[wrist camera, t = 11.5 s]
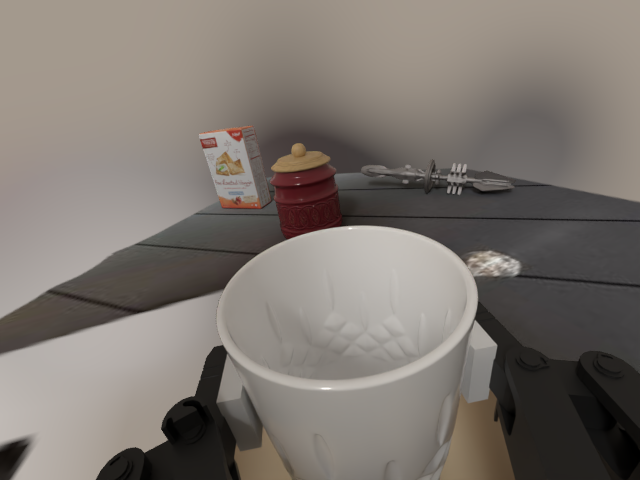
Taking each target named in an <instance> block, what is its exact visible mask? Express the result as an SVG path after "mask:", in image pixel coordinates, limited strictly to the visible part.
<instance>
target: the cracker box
mask: <svg viewBox="0 0 640 480" xmlns="http://www.w3.org/2000/svg"><path fill="white" fill-rule="evenodd" d="M199 138H200V141H201V144H202V147H203V150H204V153H205V156H206V159H207V162H208V165H209V169H210V172H211V175H212V178H213V181H214V184H215V187H216V190H217V193H218V196H219V200H220V203H221V206H222V208H254V209H261V208H263V207H264V206H265V205H267V204H268V203H270V202H271V197H270V193H269V188H268V184H267V180H266V176H265V172H264V168H263V163H262V159H261V155H260V151H259V147H258V142H257V139H256V134H255V130H254V126H246V127H238V128H227V129H222V130H215V131H208V132H204V133H201V134H199Z"/></svg>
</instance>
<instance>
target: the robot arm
mask: <svg viewBox="0 0 640 480" xmlns="http://www.w3.org/2000/svg"><path fill="white" fill-rule="evenodd" d="M490 389H491V391H492V392H493V394H494V395H495V396H496V398H497V401H496V406H495V411H494V422H497V421H498V417H499V420H500V424H501V427H502V431H503V435H504V439H505V443H506V446H507V450H508V454H509V458H510V462H511V465H512V469H513V473H514V477H515V480H640V374H639V373H638V372H637V371H636V370H635V369H634V368H633V367H631V366H630V365H629V364H627V363H626V362H625V361H623V360H622V359H620V358H617V357H615V356H613V355H611V354H607V353H604V352H600V351H589V352H585V353H583V354H582V355H581V356H580V359H579V361H565V360H553V359H548V358H547V357H546V356H545V355H543V354H542V353H541V352H538V351H536V350H534V349H532V348H527V347H523V346H522V345H521V344H520V343H519V342H518V341H517V340H516V339H515V338H514V337H513V336H512V335H511V334H510V333H509V332H508V331H507V330H506V329H505V328H504V326H503V325H502V324H501V323H500V322H499V321H498V320H497V319H495V317H494V316H493V315H492V314H491V313H490V312H488V310H487V309H486V308H485V307H484V306H483V305H482V304H481V303H480V302H478V305H477V311H476V316H475V322H474V327H473V332H472V337H471V342H470V347H469V353H468V358H467V364H466V369H465V375H464V380H463V386H462V391H461V393H462V395H463V396H464V398H465V399H466V401H467V403H472V402H476V401H481V400H486V399H488V396H489V390H490ZM161 430H162V431H163V433H164V434H165V436H166V437H167V439H168V441H166V442H164V443H162V444H161V445H159V446H157V447H155V448H153V449H151V450H149V451H147V452H145V453H144V452H143V451H142V450H141V449H139V448H136V447H135V448H128V449H126V450H124V451H122V452H120V453H118V454H117V455H115V456H114V457H113V458H112V459H111V460H109V461H108V463H107V464H106V465H105V466H104V467H103V469H102V470H101V471H100V473H99V475H98V477H97V479H96V480H241V477H240V473H239V469H238V465H237V463H236V461H235V459H234V455H235V448H236V444H237V446H238V448H239V450H240V452H241V451H246V450H251V449H255V448H260V447H262V432H263V425H262V423H261V421H260V419H259V417H258V415H257V413H256V411H255V408H254V406H253V404H252V402H251V400H250V398H249V396H248V394H247V392H246V390H245V388H244V386H243V384H242V382H241V380H240V378H239V376H238V374H237V372H236V370H235V368H234V366H233V364H232V362H231V360H230V358H229V356H228V354H227V352H226V350H225V348H224V346H223V345H222V346H217V347H214V348H213V349H212V351H211V352H210V354H209V355H208V356H207V358H206V361H205V365H204V368H203V371H202V375H201V380H200V381H199V384H198V388H197V391H196V394H195V396H194V397H188V398H186V399H183V400H181V401H180V402H178V403H177V404H175V405H174V406H173V407H172V408H171V409H170V410H169V411H168V413H167V414H166V416H165V418H164V420H163V422H162V427H161Z"/></svg>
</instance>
